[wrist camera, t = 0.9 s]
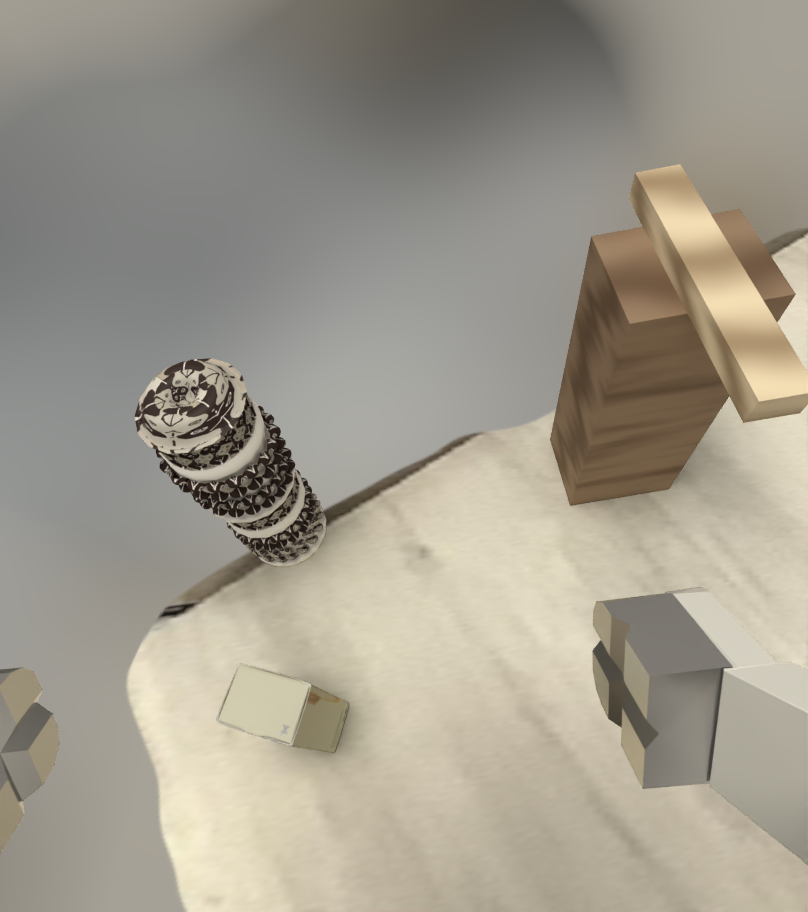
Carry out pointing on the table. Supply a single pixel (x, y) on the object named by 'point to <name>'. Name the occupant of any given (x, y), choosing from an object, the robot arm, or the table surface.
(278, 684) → the skincare box
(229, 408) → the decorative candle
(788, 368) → the slat
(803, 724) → the robot arm
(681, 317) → the pedestal
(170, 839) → the table surface
